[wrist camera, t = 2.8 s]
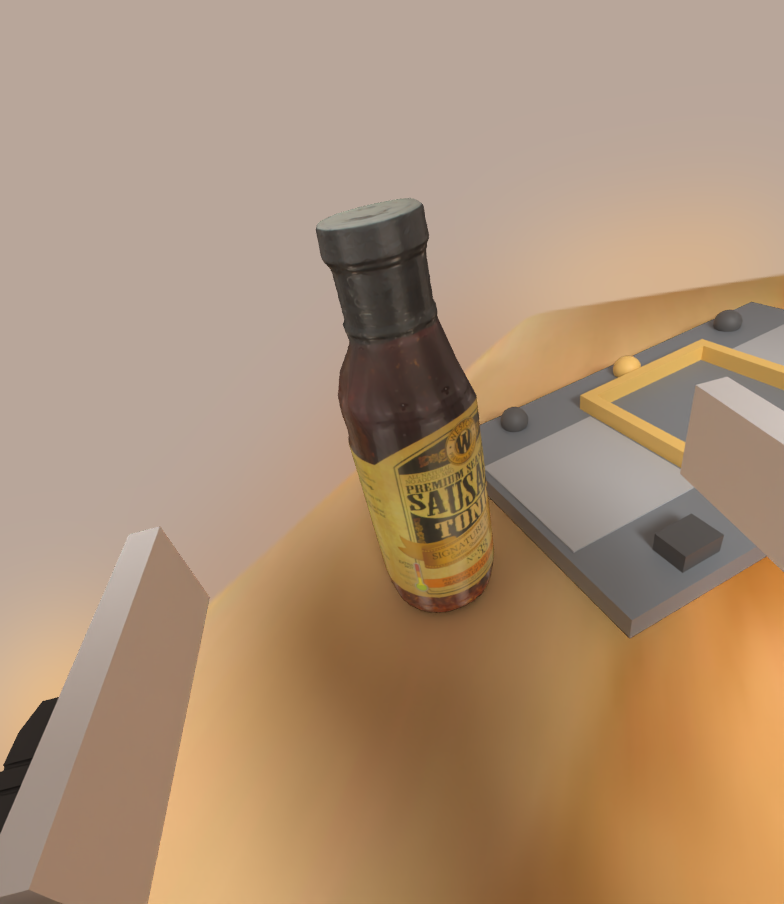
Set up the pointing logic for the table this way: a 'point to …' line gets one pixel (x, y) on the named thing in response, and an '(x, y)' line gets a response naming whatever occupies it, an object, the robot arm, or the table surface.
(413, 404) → the sauce bottle
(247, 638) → the table surface
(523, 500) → the grey fixture plate
